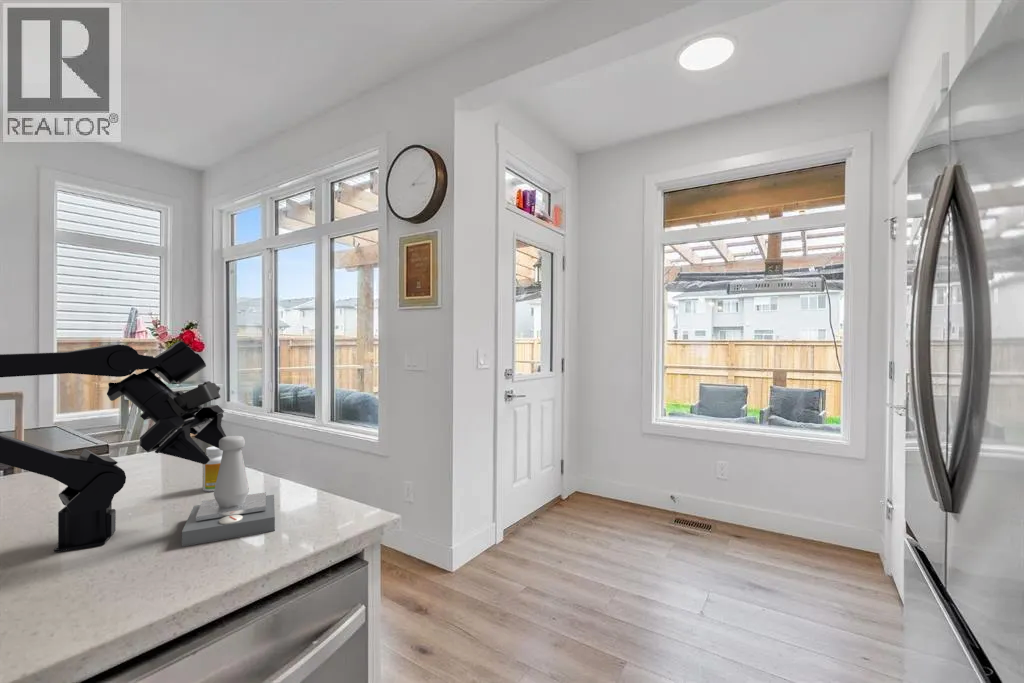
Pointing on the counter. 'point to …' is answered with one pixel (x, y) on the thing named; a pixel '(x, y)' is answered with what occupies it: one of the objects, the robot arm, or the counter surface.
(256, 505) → the scale pan
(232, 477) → the salt shaker
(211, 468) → the supplement bottle
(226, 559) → the counter surface
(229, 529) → the scale
